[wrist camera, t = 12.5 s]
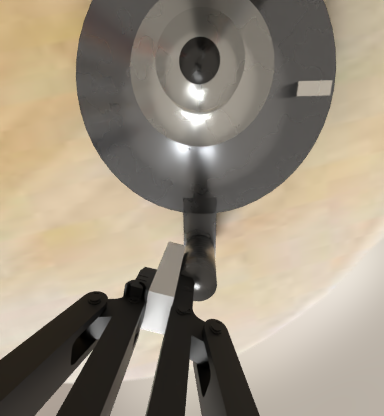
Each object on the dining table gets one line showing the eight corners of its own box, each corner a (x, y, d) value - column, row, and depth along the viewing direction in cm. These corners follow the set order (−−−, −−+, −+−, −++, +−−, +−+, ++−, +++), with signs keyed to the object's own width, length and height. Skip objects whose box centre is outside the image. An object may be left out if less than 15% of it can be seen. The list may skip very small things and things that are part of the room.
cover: (150, 33, 16) (112, -43, 9) (260, 32, 15) (297, -49, 9) (153, 145, 18) (124, 145, 12) (249, 148, 17) (273, 148, 11)
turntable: (71, -45, 16) (-33, -189, 9) (344, -65, 15) (466, -253, 8) (108, 250, 23) (65, 295, 16) (298, 255, 22) (341, 307, 15)
